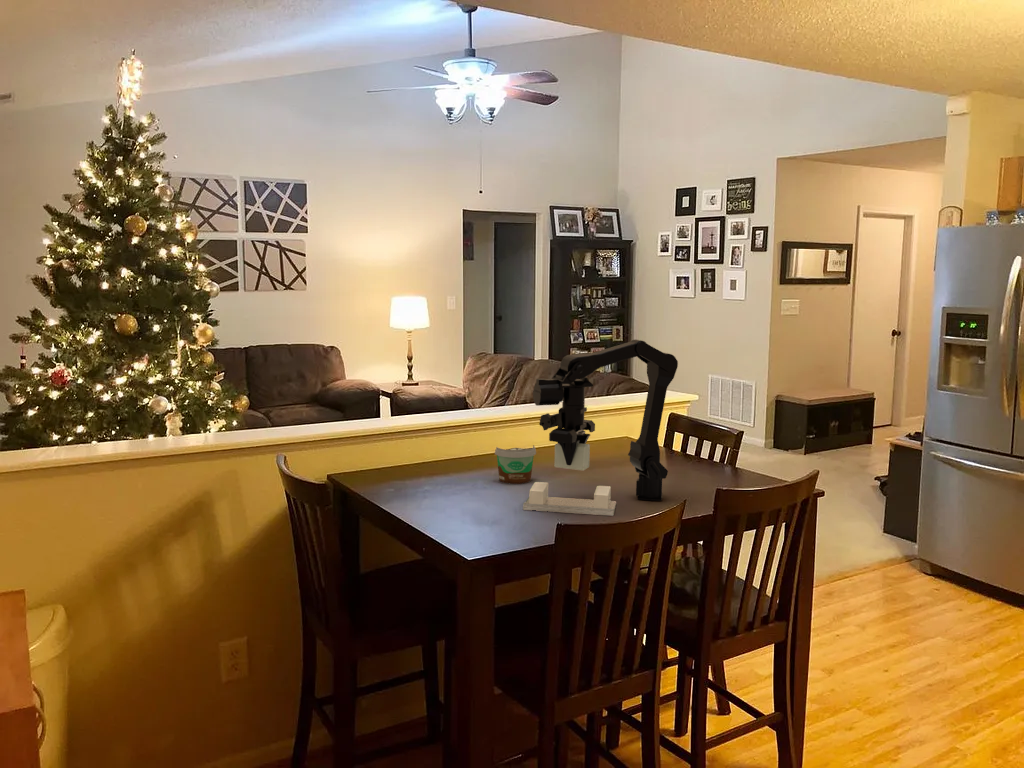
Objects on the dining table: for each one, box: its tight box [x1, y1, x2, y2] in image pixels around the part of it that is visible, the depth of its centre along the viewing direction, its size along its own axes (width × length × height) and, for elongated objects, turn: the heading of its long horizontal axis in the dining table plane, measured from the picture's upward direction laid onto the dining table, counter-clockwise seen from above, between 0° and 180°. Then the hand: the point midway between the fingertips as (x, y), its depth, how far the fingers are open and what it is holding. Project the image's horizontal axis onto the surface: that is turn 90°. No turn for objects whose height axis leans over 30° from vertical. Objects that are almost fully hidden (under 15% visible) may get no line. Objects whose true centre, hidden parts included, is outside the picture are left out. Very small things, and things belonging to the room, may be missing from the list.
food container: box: [494, 445, 537, 485], centre depth 240 cm, size 12×6×10 cm, turn 105°
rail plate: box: [522, 496, 617, 517], centre depth 215 cm, size 23×10×2 cm, turn 79°
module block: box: [554, 442, 591, 471], centre depth 216 cm, size 4×8×6 cm, turn 66°
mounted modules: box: [528, 481, 612, 509], centre depth 215 cm, size 20×9×4 cm, turn 79°
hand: (572, 463), depth 217 cm, fingers closed on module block, 4 cm apart
